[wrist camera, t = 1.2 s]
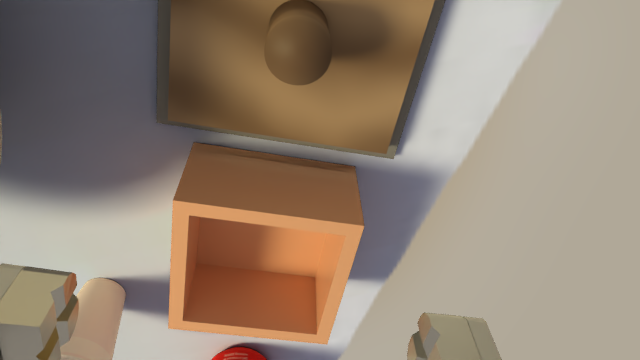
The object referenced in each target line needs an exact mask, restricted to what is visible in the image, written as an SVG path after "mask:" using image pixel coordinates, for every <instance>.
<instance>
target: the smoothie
mask: <svg viewBox="0 0 640 360" xmlns="http://www.w3.org/2000/svg"><path fill="white" fill-rule="evenodd" d="M76 297H77V298H78V301H79V312H78V319H77V322H76V326H75V330H74V332H73V334H72V336H71V338H70V341H68V342H67V343H65V344H64V345H62V346H61V347H60V351H61V359H60V360H112V357H113V353H114V348H115V343H116V339H117V334H118V330H119V325H120V320H121V316H122V311H123V307H124V302H125V297H126V293H125V291H124V289H123V288H122V286H121V285H119V284H118V283H116V282H115V281H112V280H109V279H105V278H95V279H91V280H89V281H87V282H86V283H85V284H84V286H83V287H82V289H81V290H80V291H79V293H78V294H77V296H76Z"/></svg>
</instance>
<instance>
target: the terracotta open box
mask: <svg viewBox="0 0 640 360" xmlns="http://www.w3.org/2000/svg"><path fill="white" fill-rule="evenodd" d="M363 229H364V220H363V214H362V207H361V201H360V195H359V188H358V182H357V176H356V170H355V166H348V165H341V164H335V163H328V162H321V161H315V160H308V159H301V158H295V157H288V156H281V155H275V154H268V153H261V152H255V151H248V150H241V149H235V148H228V147H221V146H215V145H208V144H201V143H195V142H194V143H193V146H192V149H191V151H190V154H189V157H188V160H187V163H186V165H185V168H184V171H183V174H182V177H181V179H180V182H179V185H178V188H177V191H176V193H175V196H174V199H173V214H172V241H171V268H170V296H169V323H168V328H170V329H180V330H189V331H199V332H209V333H219V334H229V335H239V336H249V337H259V338H269V339H279V340H289V341H298V342H308V343H318V344H327V343H328V340H329V337H330V333H331V330H332V327H333V324H334V321H335V318H336V315H337V311H338V308H339V305H340V302H341V299H342V296H343V292H344V289H345V286H346V283H347V280H348V277H349V273H350V270H351V267H352V264H353V261H354V258H355V255H356V251H357V248H358V245H359V242H360V239H361V236H362V232H363Z"/></svg>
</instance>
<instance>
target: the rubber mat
mask: <svg viewBox="0 0 640 360" xmlns="http://www.w3.org/2000/svg"><path fill="white" fill-rule="evenodd" d="M444 3H445V0H435V1H434V4H433V7H432V11H431V14H430V17H429V20H428V23H427V26H426V30H425V33H424V36H423V39H422V42H421V45H420V49H419V52H418V55H417V58H416V61H415V65H414V68H413V71H412V74H411V77H410V80H409V84H408V87H407V90H406V93H405V96H404V99H403V103H402V106H401V109H400V112H399V115H398V118H397V122H396V125H395V128H394V131H393V134H392V137H391V141H390V144H389V147H388V150H387V153H386V154H382V153H376V152H369V151H363V150H356V149H350V148H343V147H337V146H330V145H324V144H317V143H311V142H305V141H298V140H292V139H285V138H279V137H272V136H266V135H259V134H253V133H246V132H240V131H233V130H227V129H220V128H214V127H208V126H201V125H195V124H188V123H182V122H175V121H169V120H168V95H169V57H170V19H171V0H158V47H157V123H162V124H169V125H175V126H182V127H188V128H195V129H201V130H208V131H214V132H221V133H227V134H234V135H240V136H247V137H253V138H260V139H266V140H273V141H279V142H286V143H292V144H299V145H305V146H312V147H318V148H325V149H331V150H338V151H344V152H351V153H357V154H364V155H370V156H377V157H383V158H390V159H394V156H395V153H396V150H397V147H398V144H399V141H400V138H401V135H402V132H403V128H404V125H405V122H406V119H407V116H408V113H409V110H410V107H411V104H412V101H413V98H414V95H415V92H416V89H417V86H418V83H419V80H420V76H421V73H422V70H423V67H424V64H425V61H426V58H427V55H428V52H429V49H430V46H431V43H432V40H433V37H434V34H435V31H436V28H437V24H438V21H439V18H440V15H441V12H442V9H443V6H444Z"/></svg>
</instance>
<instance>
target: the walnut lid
mask: <svg viewBox="0 0 640 360" xmlns="http://www.w3.org/2000/svg"><path fill="white" fill-rule="evenodd" d="M434 1H435V0H171V19H170V57H169V95H168V120H169V121H175V122H182V123H188V124H195V125H201V126H208V127H214V128H220V129H227V130H233V131H240V132H246V133H253V134H259V135H266V136H272V137H279V138H285V139H292V140H298V141H305V142H311V143H317V144H324V145H330V146H337V147H343V148H350V149H356V150H363V151H369V152H376V153H382V154H386V153H387V150H388V147H389V144H390V141H391V137H392V134H393V131H394V128H395V125H396V122H397V118H398V115H399V112H400V109H401V106H402V103H403V99H404V96H405V93H406V90H407V87H408V84H409V80H410V77H411V74H412V71H413V68H414V65H415V61H416V58H417V55H418V52H419V49H420V45H421V42H422V39H423V36H424V33H425V30H426V26H427V23H428V20H429V17H430V14H431V11H432V7H433V4H434Z"/></svg>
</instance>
